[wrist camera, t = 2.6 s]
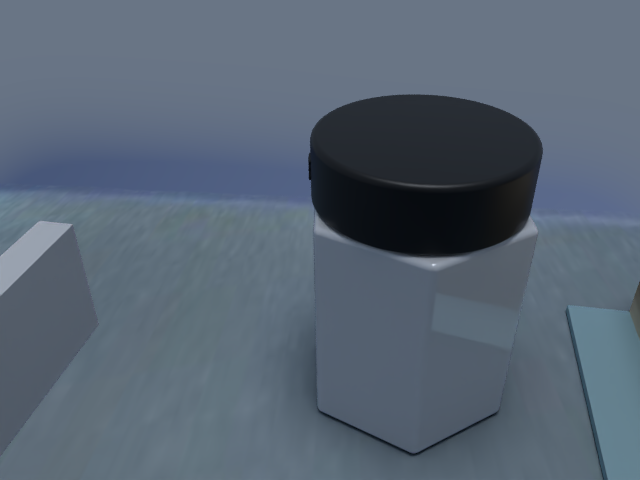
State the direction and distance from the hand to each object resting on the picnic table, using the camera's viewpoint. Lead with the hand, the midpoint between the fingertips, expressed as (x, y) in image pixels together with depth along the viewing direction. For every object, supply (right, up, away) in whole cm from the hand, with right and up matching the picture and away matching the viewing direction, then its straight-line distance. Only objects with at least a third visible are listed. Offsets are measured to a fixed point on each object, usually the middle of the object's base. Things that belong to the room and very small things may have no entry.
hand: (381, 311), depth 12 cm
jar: (+3, -5, +16) cm, 17 cm away
